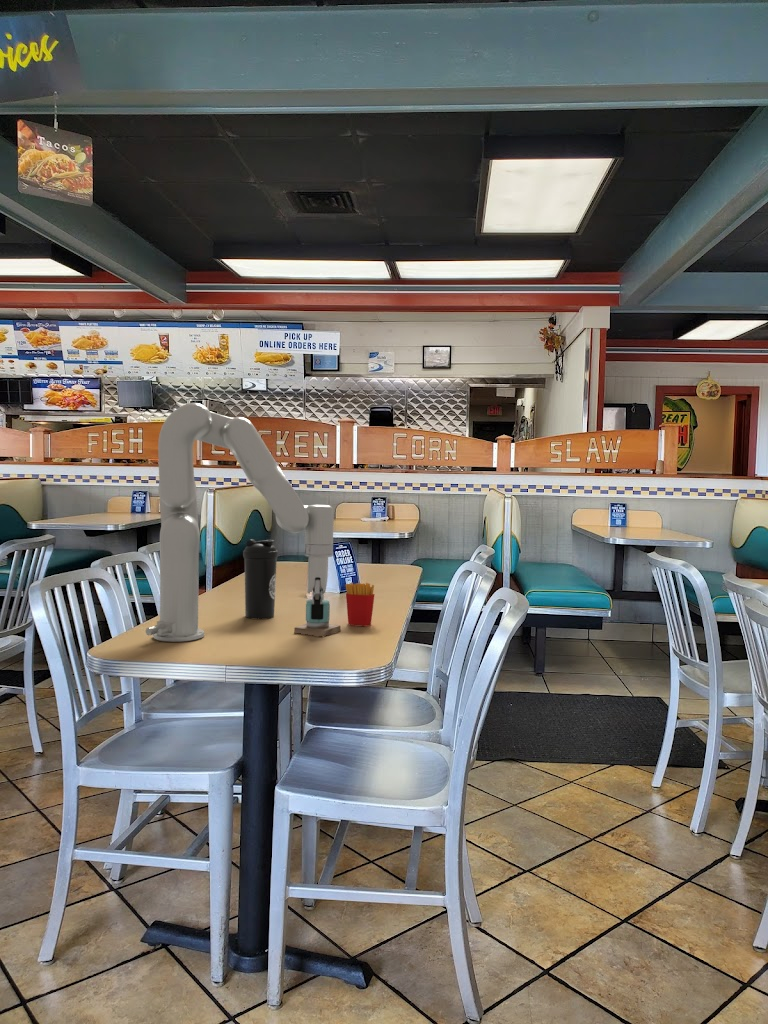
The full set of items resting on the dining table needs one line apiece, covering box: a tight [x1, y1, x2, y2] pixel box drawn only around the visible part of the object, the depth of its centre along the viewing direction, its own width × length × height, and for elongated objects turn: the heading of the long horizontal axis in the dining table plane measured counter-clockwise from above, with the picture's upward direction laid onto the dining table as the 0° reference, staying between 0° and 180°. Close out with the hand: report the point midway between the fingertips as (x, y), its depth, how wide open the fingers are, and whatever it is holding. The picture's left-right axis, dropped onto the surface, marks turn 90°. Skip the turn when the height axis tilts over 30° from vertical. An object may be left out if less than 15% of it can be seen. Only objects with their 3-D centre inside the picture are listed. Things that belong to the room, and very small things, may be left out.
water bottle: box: [242, 538, 279, 620], centre depth 212 cm, size 10×10×23 cm
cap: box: [305, 599, 331, 623], centre depth 192 cm, size 6×6×5 cm
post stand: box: [293, 620, 341, 638], centre depth 192 cm, size 9×9×7 cm
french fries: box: [345, 582, 375, 627], centre depth 203 cm, size 8×4×12 cm, turn 81°
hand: (317, 616), depth 192 cm, fingers closed on cap, 6 cm apart
